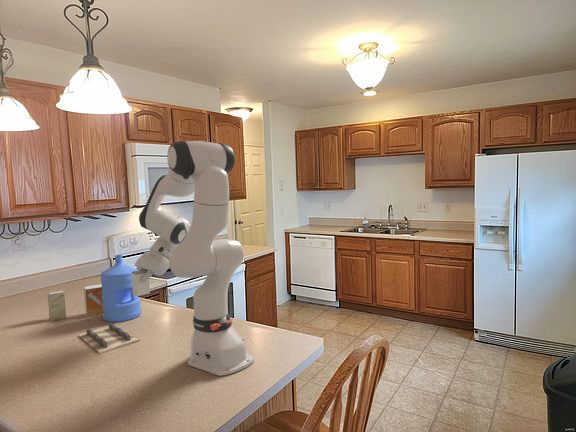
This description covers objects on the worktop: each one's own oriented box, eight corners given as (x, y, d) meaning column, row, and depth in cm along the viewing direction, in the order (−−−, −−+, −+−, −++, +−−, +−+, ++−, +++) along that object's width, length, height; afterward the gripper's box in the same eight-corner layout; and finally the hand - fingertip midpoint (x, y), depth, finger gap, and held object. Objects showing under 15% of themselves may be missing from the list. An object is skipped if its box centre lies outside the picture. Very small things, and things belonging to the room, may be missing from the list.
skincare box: (50, 321, 170) (48, 294, 169) (49, 319, 174) (46, 292, 173) (66, 317, 174) (64, 291, 173) (65, 315, 178) (62, 289, 177)
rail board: (139, 341, 144) (138, 334, 144) (99, 353, 135) (99, 346, 134) (115, 326, 161) (114, 320, 161) (78, 336, 152) (78, 329, 152)
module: (149, 293, 150) (148, 270, 150) (137, 296, 147) (135, 273, 146) (145, 291, 153) (144, 269, 153) (133, 294, 150) (131, 271, 149)
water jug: (95, 321, 168) (90, 258, 166) (121, 309, 183) (116, 251, 181) (125, 323, 164) (120, 259, 161) (148, 311, 179) (144, 252, 176)
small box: (87, 317, 174) (84, 289, 173) (85, 313, 179) (83, 286, 178) (106, 313, 178) (104, 286, 177) (104, 310, 184) (102, 283, 182)
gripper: (144, 244, 161) (122, 272, 155) (167, 250, 146) (143, 280, 140) (155, 253, 164) (134, 280, 159) (178, 259, 150) (156, 289, 144)
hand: (138, 280), depth 149 cm, fingers closed on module, 4 cm apart
